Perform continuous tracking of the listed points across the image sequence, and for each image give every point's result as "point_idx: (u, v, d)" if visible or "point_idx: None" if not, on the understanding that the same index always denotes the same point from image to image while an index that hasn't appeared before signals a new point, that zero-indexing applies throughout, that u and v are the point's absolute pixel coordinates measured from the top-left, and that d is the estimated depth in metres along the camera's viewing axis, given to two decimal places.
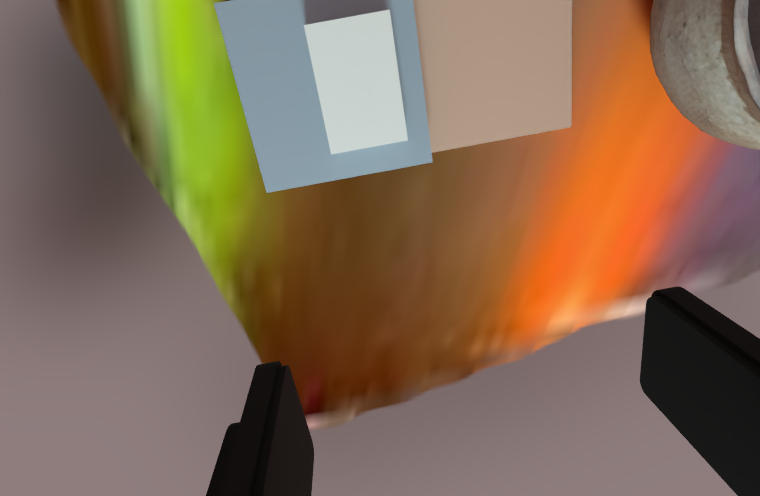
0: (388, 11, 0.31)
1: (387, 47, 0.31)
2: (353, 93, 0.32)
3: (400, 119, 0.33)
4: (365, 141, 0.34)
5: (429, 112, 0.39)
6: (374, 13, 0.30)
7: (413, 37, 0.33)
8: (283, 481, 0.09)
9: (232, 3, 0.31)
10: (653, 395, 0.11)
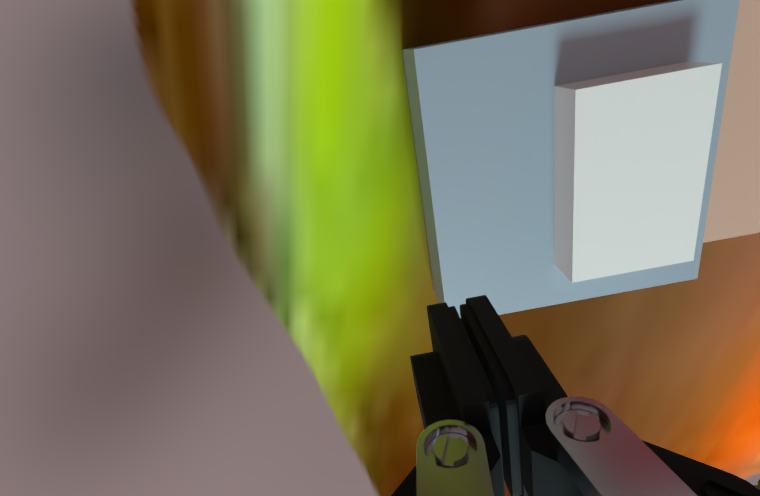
0: (719, 66, 0.18)
1: (701, 123, 0.19)
2: (628, 194, 0.20)
3: (690, 231, 0.21)
4: (629, 262, 0.21)
5: None
6: (696, 69, 0.18)
7: (718, 100, 0.20)
8: None
9: (443, 49, 0.19)
10: None
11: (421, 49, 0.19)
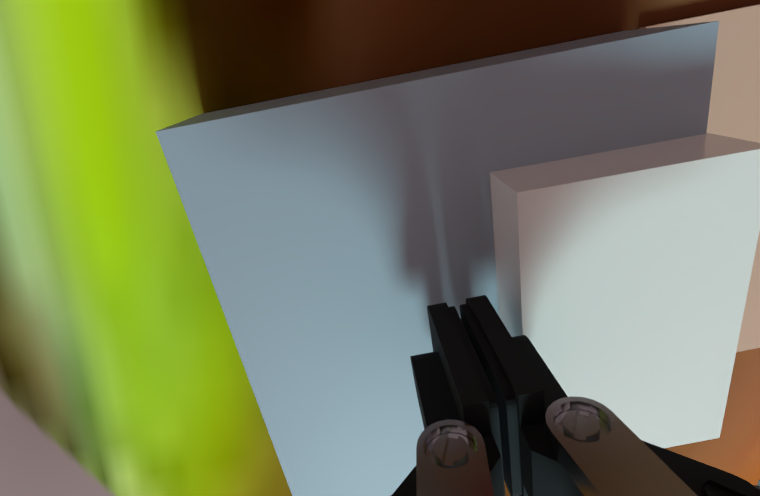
0: None
1: (737, 243, 0.11)
2: (614, 349, 0.12)
3: (716, 398, 0.13)
4: None
5: None
6: (730, 157, 0.10)
7: None
8: None
9: (209, 129, 0.11)
10: None
11: (170, 131, 0.11)
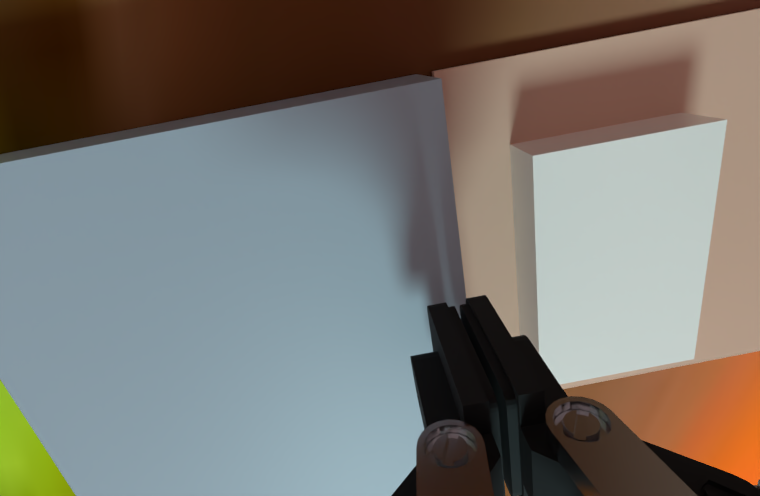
0: None
1: None
2: None
3: None
4: None
5: None
6: None
7: (449, 246, 0.13)
8: None
9: None
10: None
11: None
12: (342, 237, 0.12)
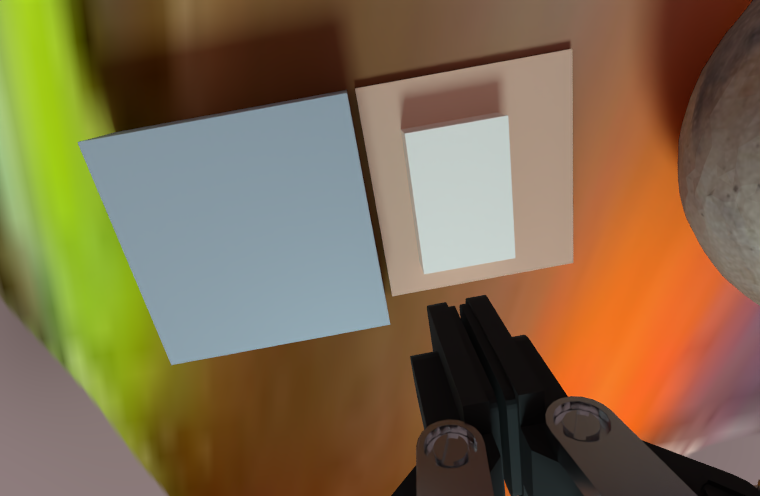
0: (402, 130, 0.27)
1: None
2: None
3: None
4: None
5: (389, 250, 0.30)
6: None
7: (357, 178, 0.24)
8: None
9: (103, 141, 0.23)
10: None
11: (84, 142, 0.23)
12: (301, 172, 0.24)
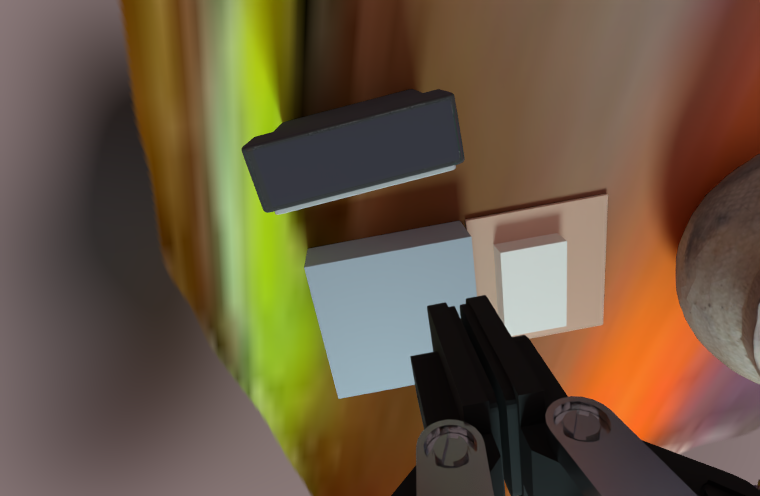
0: (494, 245, 0.41)
1: None
2: None
3: None
4: None
5: None
6: (504, 243, 0.41)
7: (472, 284, 0.38)
8: None
9: (319, 266, 0.37)
10: None
11: (308, 267, 0.37)
12: (438, 281, 0.38)
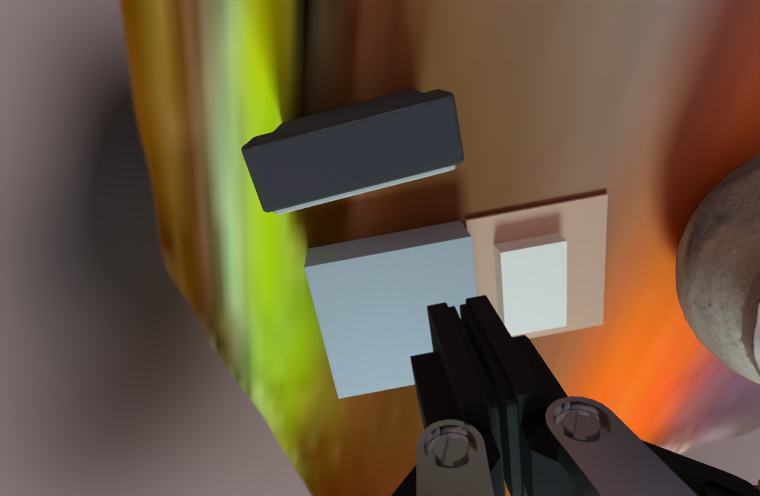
0: (494, 245, 0.41)
1: None
2: None
3: None
4: None
5: None
6: (504, 242, 0.41)
7: (472, 284, 0.38)
8: None
9: (320, 266, 0.37)
10: None
11: (308, 267, 0.37)
12: (438, 281, 0.38)
